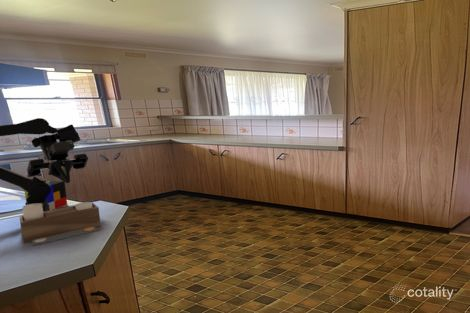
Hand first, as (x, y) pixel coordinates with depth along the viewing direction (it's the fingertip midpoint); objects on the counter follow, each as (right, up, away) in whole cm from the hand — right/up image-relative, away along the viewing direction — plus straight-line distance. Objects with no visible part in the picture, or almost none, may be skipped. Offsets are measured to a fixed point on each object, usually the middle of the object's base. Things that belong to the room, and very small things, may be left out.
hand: (68, 182), depth 107 cm
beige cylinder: (+8, -13, -4) cm, 16 cm away
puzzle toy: (-20, -12, +21) cm, 31 cm away
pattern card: (+6, -15, -13) cm, 21 cm away
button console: (+2, -15, -8) cm, 17 cm away
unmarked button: (-4, -12, -12) cm, 18 cm away
